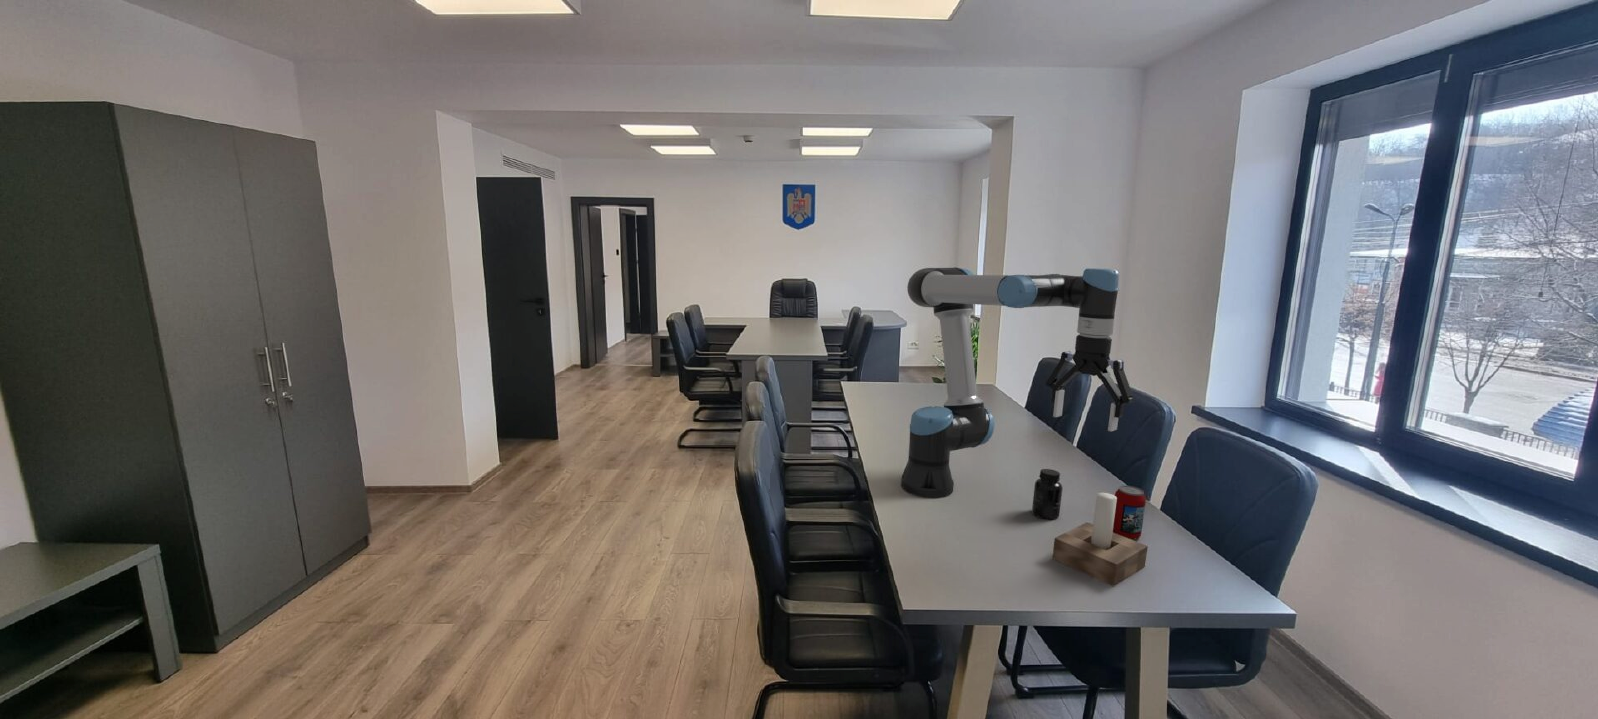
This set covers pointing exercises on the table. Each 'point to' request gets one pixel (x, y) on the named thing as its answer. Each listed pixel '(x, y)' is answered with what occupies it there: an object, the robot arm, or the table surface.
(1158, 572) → the table surface
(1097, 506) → the dowel
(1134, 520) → the beverage can
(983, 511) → the table surface
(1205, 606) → the table surface
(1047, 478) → the supplement bottle
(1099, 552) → the socket block
